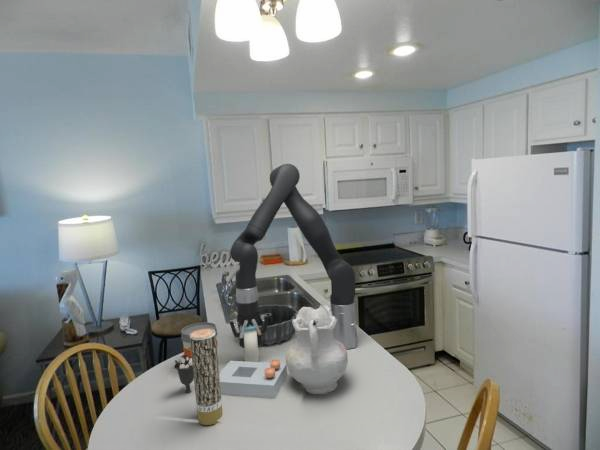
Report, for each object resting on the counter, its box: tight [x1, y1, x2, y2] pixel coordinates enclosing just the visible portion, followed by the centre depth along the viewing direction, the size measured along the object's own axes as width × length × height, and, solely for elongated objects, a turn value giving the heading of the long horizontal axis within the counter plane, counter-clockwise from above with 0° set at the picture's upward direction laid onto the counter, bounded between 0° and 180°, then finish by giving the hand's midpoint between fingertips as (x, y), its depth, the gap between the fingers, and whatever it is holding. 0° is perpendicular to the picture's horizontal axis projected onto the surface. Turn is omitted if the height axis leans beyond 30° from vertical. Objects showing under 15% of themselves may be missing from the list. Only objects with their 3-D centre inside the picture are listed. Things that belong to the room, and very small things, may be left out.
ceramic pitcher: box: [285, 303, 349, 395], centre depth 123 cm, size 22×20×25 cm
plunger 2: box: [269, 359, 281, 371], centre depth 126 cm, size 3×3×4 cm
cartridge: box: [241, 324, 260, 362], centre depth 139 cm, size 6×6×14 cm
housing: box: [219, 360, 288, 399], centre depth 126 cm, size 20×14×5 cm
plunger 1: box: [264, 368, 275, 379], centre depth 121 cm, size 3×3×4 cm
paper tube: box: [190, 329, 223, 426], centre depth 109 cm, size 7×7×25 cm
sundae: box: [173, 348, 194, 394], centre depth 123 cm, size 7×7×15 cm
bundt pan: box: [234, 303, 299, 346], centre depth 166 cm, size 26×26×10 cm
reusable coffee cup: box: [180, 321, 218, 355], centre depth 140 cm, size 13×13×15 cm
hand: (250, 345), depth 139 cm, fingers closed on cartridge, 5 cm apart
